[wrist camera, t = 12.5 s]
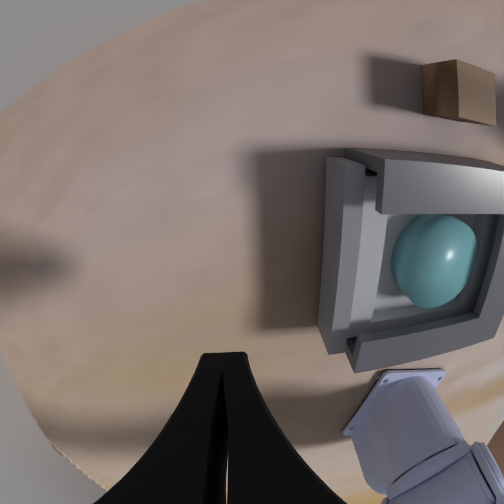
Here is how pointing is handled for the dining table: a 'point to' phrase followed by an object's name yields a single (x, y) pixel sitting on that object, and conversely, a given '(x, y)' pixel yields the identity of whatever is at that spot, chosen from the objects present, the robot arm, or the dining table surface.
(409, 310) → the tray
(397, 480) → the robot arm
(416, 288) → the teal rounded dome
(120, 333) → the dining table surface
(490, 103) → the brown rectangular block
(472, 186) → the grey drawer housing
